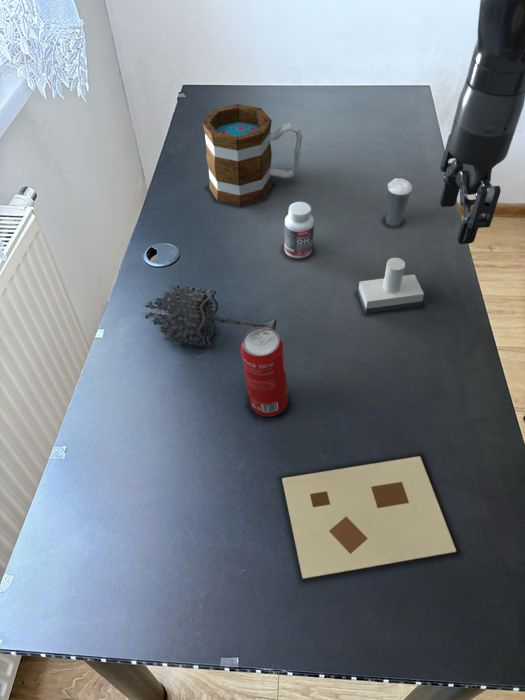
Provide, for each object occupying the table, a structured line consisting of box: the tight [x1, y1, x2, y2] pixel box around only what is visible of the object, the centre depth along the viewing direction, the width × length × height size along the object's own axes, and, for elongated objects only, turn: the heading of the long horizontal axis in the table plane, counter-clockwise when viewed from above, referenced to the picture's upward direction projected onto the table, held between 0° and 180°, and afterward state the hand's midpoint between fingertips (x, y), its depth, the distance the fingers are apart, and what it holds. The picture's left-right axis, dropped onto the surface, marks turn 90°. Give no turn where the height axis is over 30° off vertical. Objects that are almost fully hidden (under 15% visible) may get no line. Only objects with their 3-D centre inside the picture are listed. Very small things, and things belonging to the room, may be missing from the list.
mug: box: [202, 103, 303, 207], centre depth 122 cm, size 20×14×15 cm
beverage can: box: [240, 326, 289, 417], centre depth 86 cm, size 6×6×15 cm
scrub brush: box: [357, 257, 425, 314], centre depth 102 cm, size 10×5×8 cm, turn 99°
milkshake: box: [385, 177, 413, 227], centre depth 115 cm, size 4×5×10 cm
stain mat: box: [281, 455, 457, 580], centre depth 80 cm, size 20×14×1 cm
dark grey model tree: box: [140, 284, 277, 347], centre depth 97 cm, size 9×22×9 cm, turn 79°
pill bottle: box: [283, 201, 315, 259], centre depth 110 cm, size 5×5×10 cm
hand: (455, 223), depth 86 cm, fingers open, 8 cm apart
